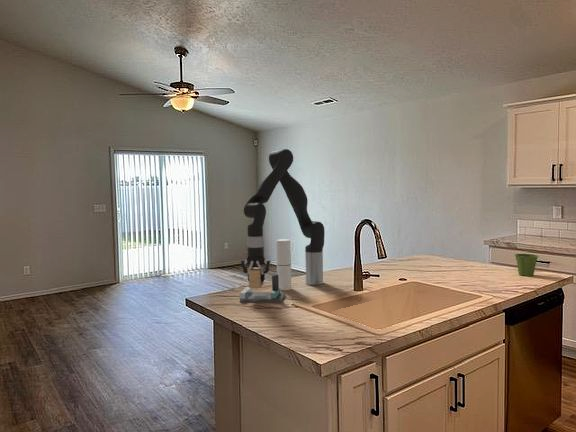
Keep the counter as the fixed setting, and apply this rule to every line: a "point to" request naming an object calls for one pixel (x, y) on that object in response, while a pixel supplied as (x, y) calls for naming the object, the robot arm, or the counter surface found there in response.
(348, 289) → the counter surface
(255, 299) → the vise
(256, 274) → the block
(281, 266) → the cylindrical container
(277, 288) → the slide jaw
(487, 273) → the counter surface
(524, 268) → the plant pot
